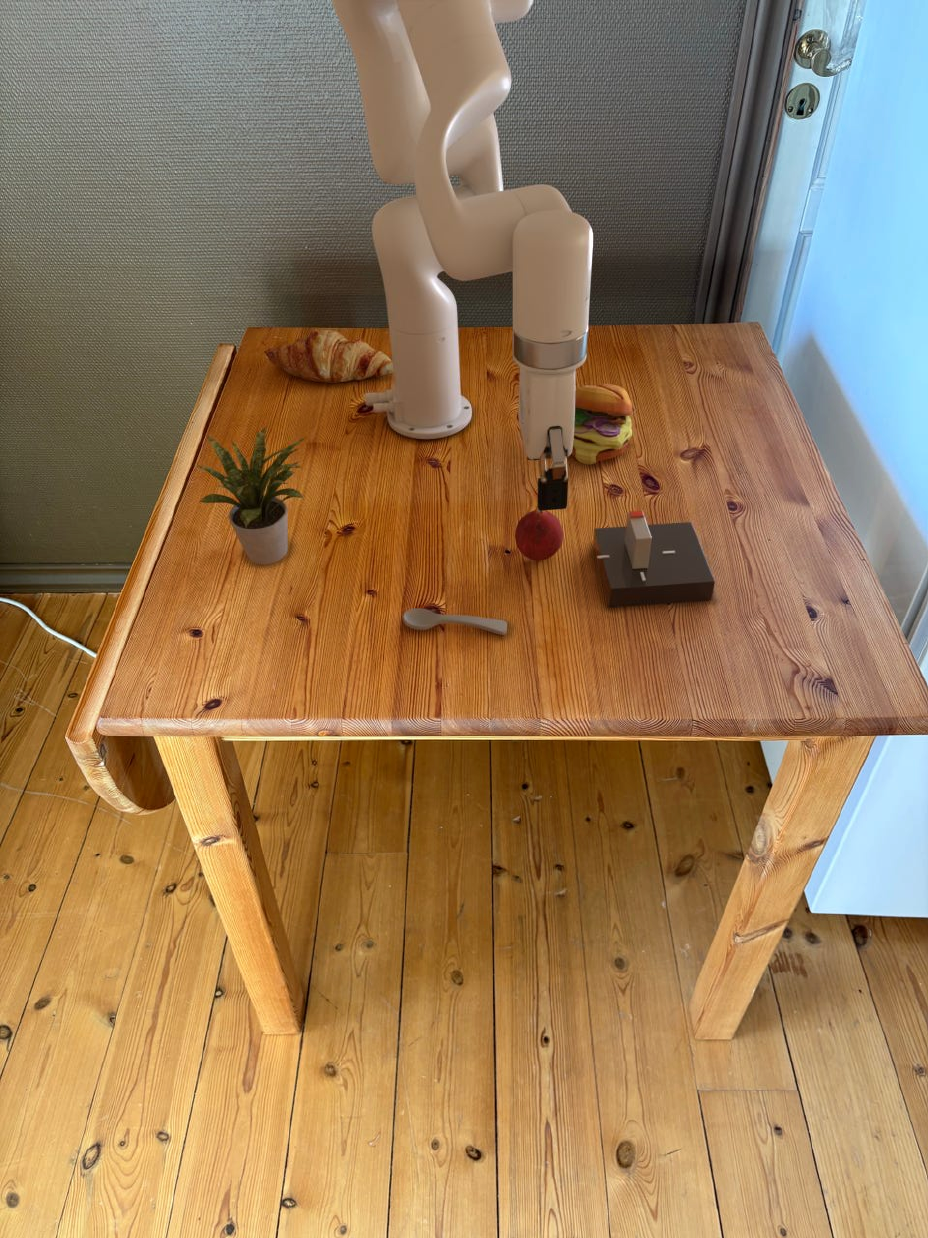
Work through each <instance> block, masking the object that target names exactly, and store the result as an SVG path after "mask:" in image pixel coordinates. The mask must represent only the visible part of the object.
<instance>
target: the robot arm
mask: <svg viewBox="0 0 928 1238" xmlns="http://www.w3.org/2000/svg"><path fill="white" fill-rule="evenodd" d="M331 3H332V5H333V9H334V11H335V14H336V17H337V20H338V21H339V24H340V26H341V28H342V30H343V33H344V35H345V37H346V40H347V42H348V44H349V46H350V50H351V53H352V55H353V58H354V63H355V67H356V71H357V77H358V84H359V91H360V97H361V101H362V107H363V109H362V110H363V115H364V120H365V127H366V132H367V133H366V134H367V137H368V144H369V149H370V154H371V159H372V164H373V166H374V169H375V171H376V174H377V175H378V177H379V178H380V179H381V180H382V181H383V182H384V183H387V184H389V185H395V186H400V185H410V184H411V185H412V184H414V190H415V194H411V195H406V196H402V197H399V198H396V199H393V200H391V201H389V202H387V203H385V204H384V205H382V206H381V207H380V208H379V209H378V210H377V211H376V212H375V214H374V217H373V220H372V224H371V234H372V235H371V236H372V241H373V246H374V250H375V253H376V257H377V261H378V265H379V269H380V272H381V278H382V283H383V288H384V295H385V303H386V312H387V320H388V321H387V322H388V332H389V343H390V353H391V361H392V363H393V372H392V374H393V382H392V388H391V389H386V391H384V392H377V391H375V392H365V393H364V395H365V396H364V401H365V407H373V413H374V414H380V413H386V419H387V423H388V425H389V427H390V428H391V429H392V430H393V431H395V432H396V433H398V434H399V435H402V436H403V437H407V438H411V439H417V440H437V439H441V438H446V437H449V436H453V435H454V434H457V433H458V432H461V431H462V430H463V429H464V428H466V427H467V426H468V425H469V423H470V422H471V420H472V417H473V409H472V405H471V403H470V401H469V400H468V399H467V398H466V397H465V396H463V395H462V394H461V391H462V390H461V368H460V367H461V366H460V347H459V346H460V345H459V344H460V343H459V322H458V307H457V301H456V298H455V295H454V293H453V292H452V290H451V289H450V288H449V287H448V286H447V285H446V284H445V283H444V282H443V280H441V279H440V278H438V275H439V274H440V273H442V272H445V273H446V275H448V276H449V277H450V278H451V279H454V280H457V281H462V282H470V281H474V280H479V279H484V278H489V277H493V276H497V275H501V274H505V273H509V272H510V273H511V272H512V359H513V361H514V364H515V365H517V367H519V382H518V383H519V384H518V402H517V403H518V405H517V414H518V415H517V418H518V419H517V420H518V426H519V431H520V436H521V439H522V444H523V449H524V453H525V456H526V458H527V460H528V461H531V462H532V461H539V471H540V477H538V478H537V505H536V506H538V509H539V510H540V511H544V510H545V511H554V510H555V511H556V510H565V509H567V507H568V498H569V497H568V496H569V495H568V493H569V475H568V461H567V458H569V457H570V456H571V453H572V449H573V439H574V421H575V391H576V390H577V388H576V387H577V386H576V381H577V380H576V377H577V376H576V374H577V373H576V372H577V370H576V369H579V368H580V367H581V366H582V365H584V363H585V362H586V361H587V356H588V355H587V353H588V337H589V336H588V333H589V317H590V302H591V301H590V299H591V284H592V283H591V281H592V266H593V265H592V264H593V249H594V233H593V229H592V226H591V224H590V223H589V221H588V219H586V218H585V217H584V216H582V215H580V214H579V213H576V212H573V211H572V209H571V207H570V205H569V203H568V202H567V200H566V198H565V197H564V195H563V194H562V193H561V192H560V191H559V189H557V188H556V187H554V186H552V185H549V184H543V183H540V184H538V183H537V184H532V185H531V184H530V185H526V186H522V187H516V188H510V189H504V182H503V171H502V160H501V159H502V158H501V150H500V149H501V147H500V141H499V134H498V132H499V131H498V127H497V122H496V119H495V114H494V112H495V111H497V110H498V108H499V107H500V106H501V105H502V104H503V103H504V102H505V100H506V99H507V97H508V95H509V93H510V91H511V87H512V72H511V69H510V66H509V63H508V61H507V58H506V54H505V52H504V49H503V46H502V43H501V41H500V38H499V34H498V32H497V28H496V25H498V24H503V23H504V24H505V23H509V22H515V21H519V20H521V19H522V18H524V17H525V16H526V15H527V14H528V12H529V11H530V9H531V7H532V5H533V3H534V0H331ZM454 176H457V178H458V181H459V186H453V185H452V183H451V182H452V181H451V179H450V177H454ZM547 460H550V461H551V463H550V468H548V469H547Z"/></svg>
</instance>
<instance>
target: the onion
mask: <svg viewBox="0 0 928 1238" xmlns="http://www.w3.org/2000/svg"><path fill="white" fill-rule="evenodd" d="M563 540H564V529H563V526H562V524H561V522H560V520H559V518H558V517H557V516H556V515H555V514H553V513H552V512H551V511H550V510H544V511H540V510H539V509H538V505H536V506H535V509H534V510H531V511H529V512H527V513H526V514H524V515H523V516H522V517H521V518H520V519H519V520H518V522H517V525H516V527H515V533H514V541H515V544H516V549H518V551H519V552H520V553H521V554H522V555H523V556H524V557H525V558H527V559H528V560H531V561H534V562H535V561H536V562H542V561H546V560H548V559H550V558H551V557H553V556H554V555H555V554H556V553H557V552H558V551H559V550H560V549H561V547H562V544H563Z"/></svg>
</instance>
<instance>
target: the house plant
mask: <svg viewBox="0 0 928 1238" xmlns="http://www.w3.org/2000/svg"><path fill="white" fill-rule="evenodd" d="M266 428H267V426H264V427H263V428H262V430H261V431H259V428H258V429H257V430H256V436H255V441H254V446H253V451H252V455H251V458H250V463H249V464H248V462H247V459H246V458H245V456H244V454H243V453H242V452H241V451H240V449H239V447H238V445H237V444H236V443H235V442H234V441H233V440H232V439H230V440H231V441H230V442H231V445H232V447H233V449H234V453H235V455H236V457H237V460H238V463H239V465H240V468H241V469H240V468H238V465H237V464H236V462H235V460H234V458H233V457H232V455H231V454H230V452H229V451H228V450H227V449H226V448H225V447H223V446H222V445H221V444H219V442H218V441H217V440H216V439H214V438H213V437H210V436H209V435H207V439H208V441H209V443H210V445H211V447H212V448H213V450H214V452H215V455H216V456H217V458H218V459H219V461H220V463H221V465H222V467H223V469H224V472H225V474H226V476H225V475H223V474H222V472H220V471H217V470H215V469H214V468H211V467H210V466H206V465H197V467H198V468H199V469H201V470H203V471H206V472H208V474H210V475H211V476H212V477H214V478H215V479H217V480H219V481H220V483H221V485H220V484H218V485H217V487H219V488H222V489H225V490H227V491H229V492H230V493H231V494H232V495H233V496H234V497H235V498H236V500H235V499H234V498H232V497H230V496H228V495H223V494H218V493H210V494H207V495H205V496H203V498H202V499H201V500H200V501H199V502H198V503H204V504H220V503H221V504H229V505H233V506H232V507H231V508H230V511H229V513H228V520H229V523H230V525H231V527H232V529H233V531H234V532H235V535H236V536H237V537H236V538H237V539H238V541H239V543H240V545H241V546H242V549H243V551H244V552H245V553H244V554H246V556H247V559H249V561H250V562H251V563H253V564H256V565H261V566H265V565H266V566H267V565H272V564H275V563H277V562H279V561H281V560H282V559H284V557H286V555H287V553H288V550H289V549H288V548H289V546H288V545H289V543H288V535H289V534H288V532H289V531H288V507H287V504H286V502H284V501H286V500H288V499H291V498H296V499H297V498H298V499H303V500H304V501H306V499H305V498H304V496H303V495H302V493H301V492H300V491H299V490H297V489H295V488H289V487H288V488H281V489H279V487H281V486H282V485H288V483H287V482H286V481H288V479H290V478H291V477H292V476H293V474H295V473H296V471H294V470H293V471H291V470H290V469H300V468H301V469H303V467H302V466H299V465H297V464H299V463H300V461H297V462H293V463H285V461H286V460H287V459H288V458H289V456H290V455H291V454H293V453H295V452H297V451H298V450H299V448H295V447H296V446H297V445H299V444H300V443H302V442H303V441H305V439H306V438H307V436H306V437H303V438H300V439H298V440H296V441H294V442H292V443H291V444H289V445H288V446H286V447H285V448H282V449H279V450H277V451H275V452H273V453H271V454H270V455H268V456H267V457H266V452H267V447H266V441H265V440H266V434H267V429H266ZM275 456H276V458H275V459H274V460H273V461H272V463H271V464H270V465H269V466H268V467H267V468H266V469H265V470H264V469H263V468H264V465H265V464H266V463H267V462H269V460H270V459H272V458H273V457H275ZM265 457H266V458H265ZM283 463H284V464H283ZM263 470H264V472H263ZM278 489H279V490H278ZM280 496H285V497H284V498H283V499H281V498H279V497H280Z"/></svg>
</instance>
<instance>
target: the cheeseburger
mask: <svg viewBox="0 0 928 1238" xmlns="http://www.w3.org/2000/svg"><path fill="white" fill-rule="evenodd" d="M635 412H636V409H635V408H634V407H633V404H632V401H631V398H630V396H629V394H628V391H626V390H625V389H624V388H623V387H622V386H620V385H616V384H612V383H611V384H610V383H599V384H595V385H590V384H586V385H581V386H580V387H579V388H576V391H575V421H574V439H573V449H572V453H571V455H572V456H573V458H575V459H576V461H578V462H579V463H581V464H584V465H594V464H596V463H597V462H600V461H607V460H609V459H612V458H615V457H618V456H621V454H623V453H624V452H625V451H627V448H628V445H629V441H630V439H631V438H632V436H633V429H632V425H633V423H632V419H631V417H630V416H631V415H633V413H635ZM571 455H570V456H571Z"/></svg>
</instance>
